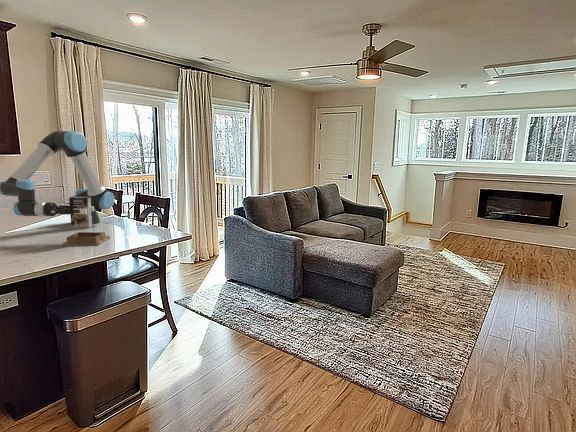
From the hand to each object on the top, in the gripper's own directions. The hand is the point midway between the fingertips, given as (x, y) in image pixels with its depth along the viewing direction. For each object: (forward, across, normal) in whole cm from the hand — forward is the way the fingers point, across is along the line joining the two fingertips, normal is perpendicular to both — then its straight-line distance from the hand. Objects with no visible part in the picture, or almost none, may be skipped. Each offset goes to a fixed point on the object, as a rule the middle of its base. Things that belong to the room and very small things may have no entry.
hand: (90, 210), depth 200 cm
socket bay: (-3, 0, -18) cm, 18 cm away
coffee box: (-5, 0, -9) cm, 10 cm away
